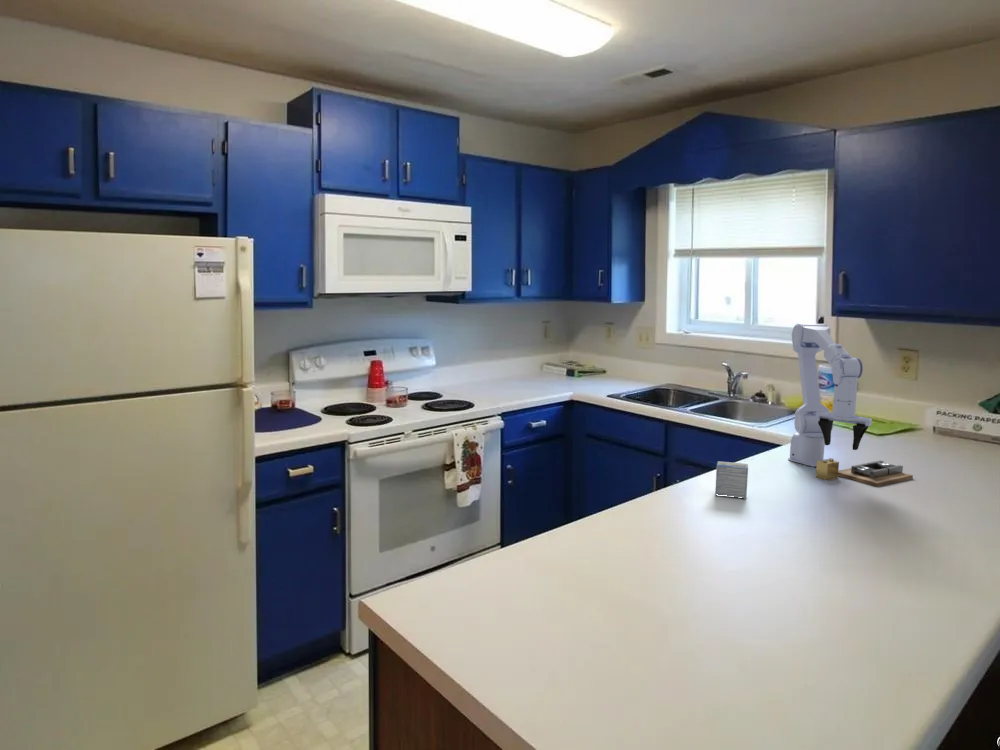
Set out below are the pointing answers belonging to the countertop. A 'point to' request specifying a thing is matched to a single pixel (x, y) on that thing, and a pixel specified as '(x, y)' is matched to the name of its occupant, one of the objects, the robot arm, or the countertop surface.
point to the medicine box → (731, 479)
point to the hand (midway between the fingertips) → (841, 447)
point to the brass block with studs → (827, 469)
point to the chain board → (876, 481)
